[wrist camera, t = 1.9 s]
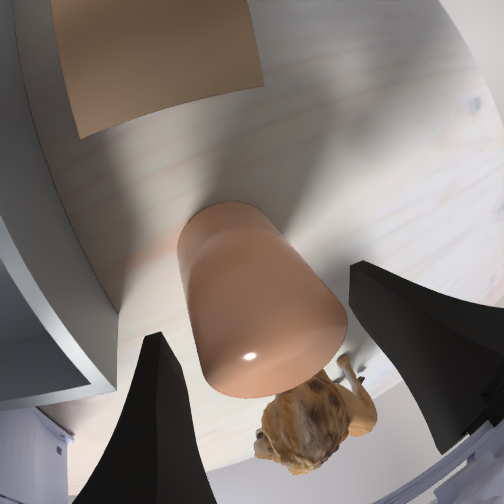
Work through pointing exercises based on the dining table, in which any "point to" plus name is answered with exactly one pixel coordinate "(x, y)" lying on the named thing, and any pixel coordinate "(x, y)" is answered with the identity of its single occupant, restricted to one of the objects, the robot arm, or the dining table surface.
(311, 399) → the lion figurine
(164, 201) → the dining table surface
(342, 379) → the dining table surface
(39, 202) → the tote
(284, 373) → the terracotta cylinder
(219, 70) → the walnut block
